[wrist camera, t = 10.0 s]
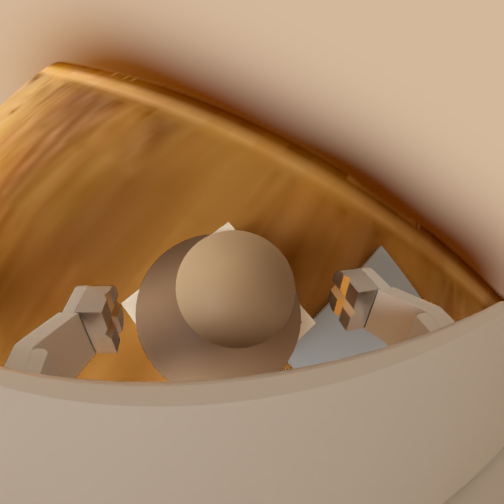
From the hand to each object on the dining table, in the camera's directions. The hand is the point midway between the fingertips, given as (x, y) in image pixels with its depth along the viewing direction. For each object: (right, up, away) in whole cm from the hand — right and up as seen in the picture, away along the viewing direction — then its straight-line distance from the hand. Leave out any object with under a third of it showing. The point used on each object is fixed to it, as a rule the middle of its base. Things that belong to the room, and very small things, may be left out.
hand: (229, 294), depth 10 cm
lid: (-1, -2, +7) cm, 7 cm away
